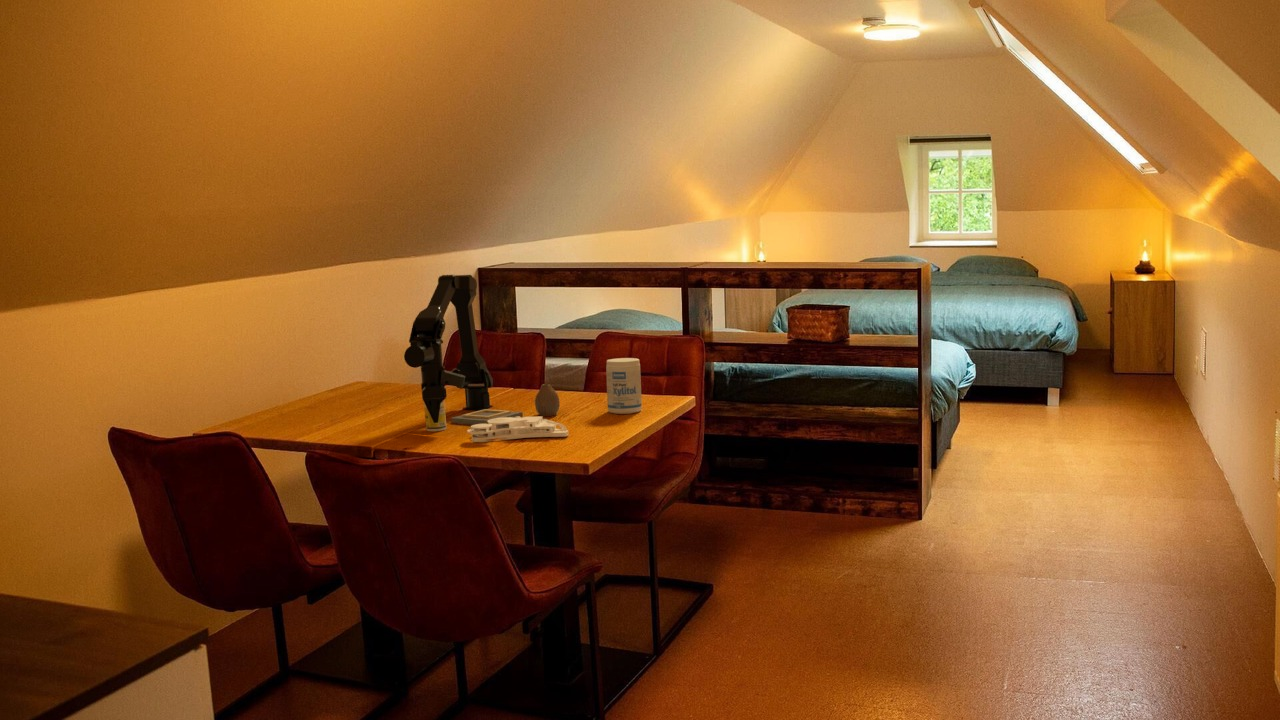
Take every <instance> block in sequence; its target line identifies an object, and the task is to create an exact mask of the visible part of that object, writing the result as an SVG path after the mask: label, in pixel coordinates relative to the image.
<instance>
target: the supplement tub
mask: <svg viewBox="0 0 1280 720" xmlns="http://www.w3.org/2000/svg"><path fill="white" fill-rule="evenodd" d="M605 368H606V369H605V373H606V374H605V375H606V395H607V396H606V398H607V399H606V400H607V401H606V404H607V411H608V412H609V413H611V414H615V415H616V414H617V415H619V414H620V415H629V414H630V415H631V414H633V413H634V414H635V413H639V412H640V411H641V410H642V408H643V407H642V380H641V374H642V373H641V363H640V359H639V358H636V357H620V358H619V357H618V358H611V359H610V358H609V359H606V367H605Z"/></svg>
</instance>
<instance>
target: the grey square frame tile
mask: <svg viewBox="0 0 1280 720" xmlns="http://www.w3.org/2000/svg"><path fill="white" fill-rule="evenodd" d="M517 416H520V417H521V418H522V417H524V413H523V411H512V410H504V409H503V410H501V409H489V408H486V409H482V410H475V411H472V412H469V413H468V412H467V413H465V414H461V415H458V416H457V415H456V416H454V417H450V424H456V423H457V424H458V425H468V426H469V425H470V426H472V425H475V424H483V423H485V424H488V422H487V421H488V420H490V419H495V418H500V417H513V418H515V417H517ZM457 424H456V425H457Z"/></svg>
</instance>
